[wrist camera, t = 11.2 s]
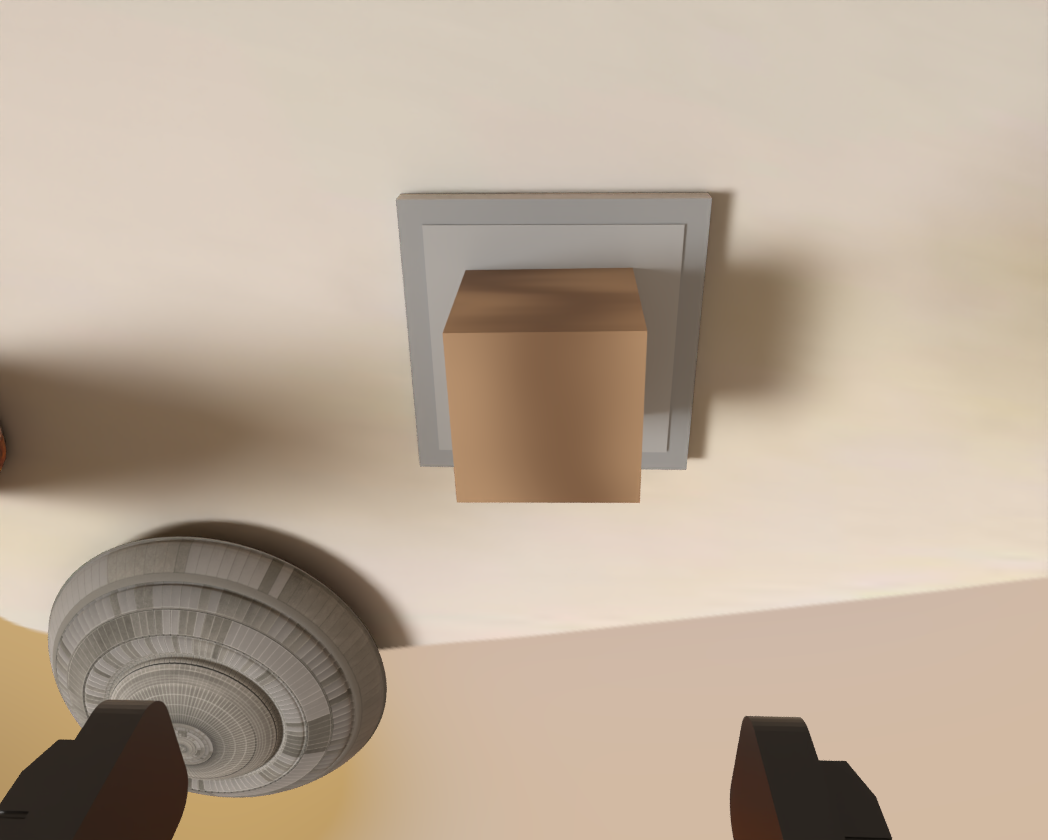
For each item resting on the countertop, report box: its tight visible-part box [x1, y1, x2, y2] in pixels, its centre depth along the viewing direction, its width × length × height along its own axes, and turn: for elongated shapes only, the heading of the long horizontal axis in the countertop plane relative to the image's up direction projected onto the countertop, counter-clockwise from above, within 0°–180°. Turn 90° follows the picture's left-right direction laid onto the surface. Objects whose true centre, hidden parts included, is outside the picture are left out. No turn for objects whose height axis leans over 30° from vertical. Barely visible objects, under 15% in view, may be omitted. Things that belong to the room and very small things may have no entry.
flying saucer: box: [48, 536, 387, 797], centre depth 34 cm, size 15×15×6 cm
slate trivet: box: [396, 193, 712, 470], centre depth 28 cm, size 10×10×1 cm
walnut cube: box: [442, 268, 647, 503], centre depth 25 cm, size 6×6×6 cm
